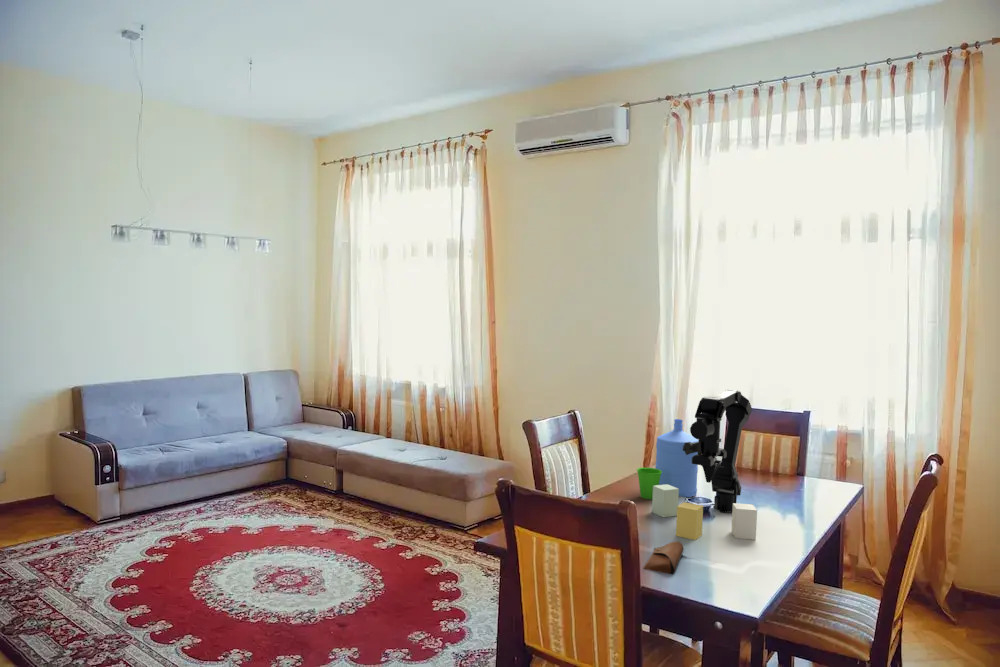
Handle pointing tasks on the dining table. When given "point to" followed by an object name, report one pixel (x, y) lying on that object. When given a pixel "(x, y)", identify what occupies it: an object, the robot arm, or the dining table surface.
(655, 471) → the cup
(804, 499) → the dining table surface
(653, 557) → the sunglasses case
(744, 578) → the dining table surface
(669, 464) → the water jug
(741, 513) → the cream block
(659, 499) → the sage block
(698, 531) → the mustard block
